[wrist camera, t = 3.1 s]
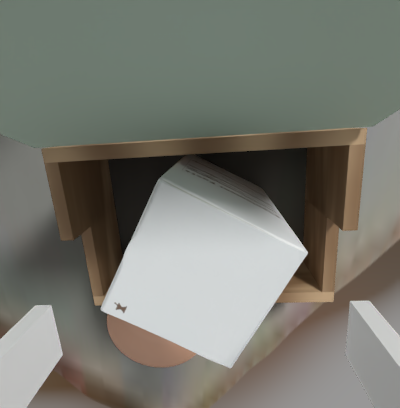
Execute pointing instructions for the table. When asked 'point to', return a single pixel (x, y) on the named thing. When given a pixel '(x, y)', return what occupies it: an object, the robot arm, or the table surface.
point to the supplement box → (204, 261)
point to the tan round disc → (145, 345)
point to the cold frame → (100, 153)
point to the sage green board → (194, 68)
